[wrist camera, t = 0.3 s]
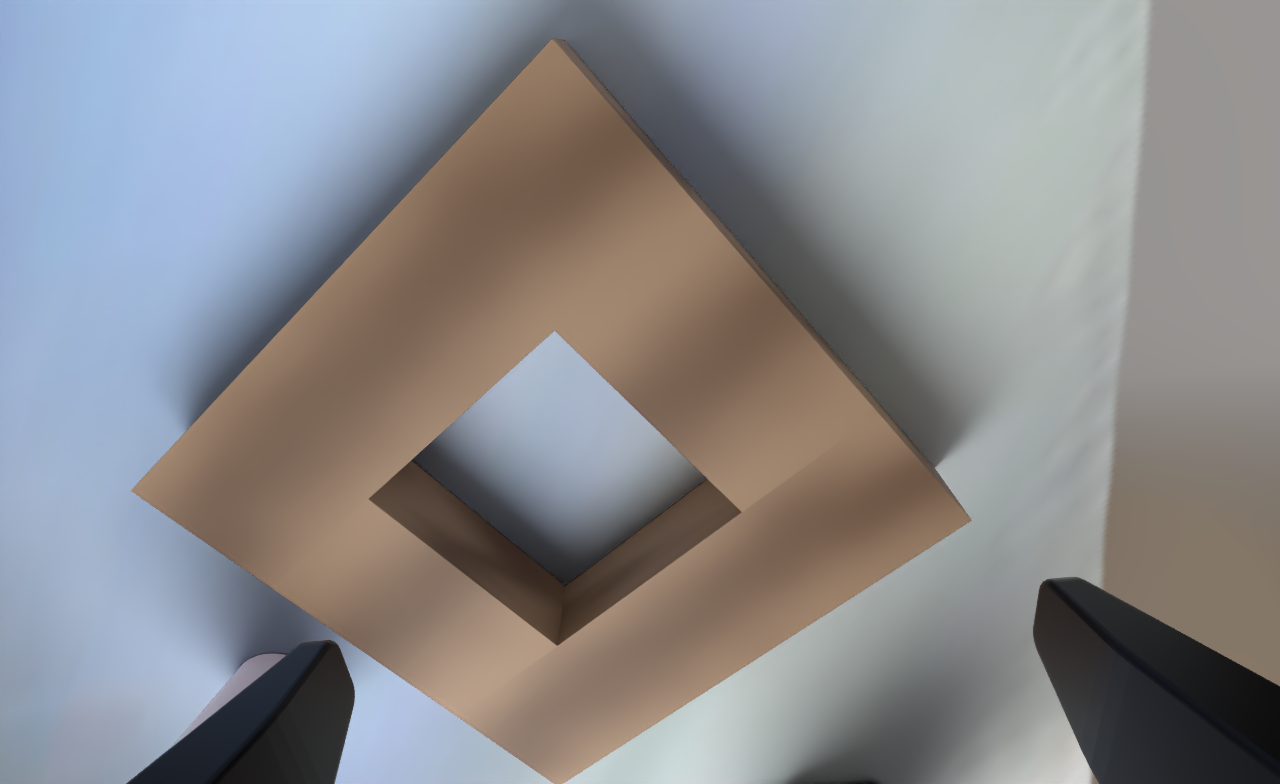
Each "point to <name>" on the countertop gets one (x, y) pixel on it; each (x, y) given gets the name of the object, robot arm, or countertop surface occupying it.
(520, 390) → the countertop surface
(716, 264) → the hole board
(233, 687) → the smoothie
